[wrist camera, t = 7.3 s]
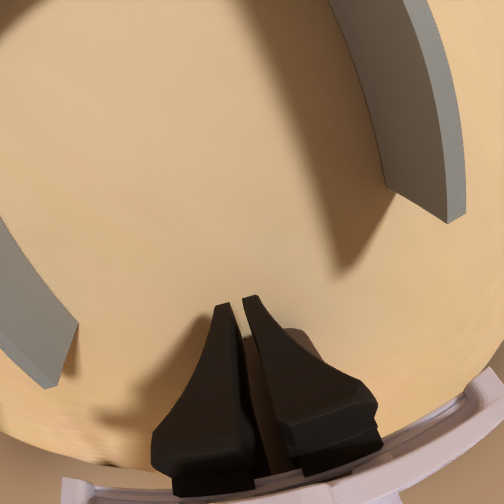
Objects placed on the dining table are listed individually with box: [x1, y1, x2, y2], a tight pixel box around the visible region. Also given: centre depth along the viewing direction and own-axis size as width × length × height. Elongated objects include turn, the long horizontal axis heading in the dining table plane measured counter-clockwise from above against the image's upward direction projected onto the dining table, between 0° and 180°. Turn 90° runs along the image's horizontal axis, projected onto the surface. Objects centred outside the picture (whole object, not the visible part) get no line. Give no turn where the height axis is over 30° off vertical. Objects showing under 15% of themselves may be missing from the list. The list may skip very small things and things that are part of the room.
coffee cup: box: [243, 328, 353, 486], centre depth 12 cm, size 8×8×10 cm
